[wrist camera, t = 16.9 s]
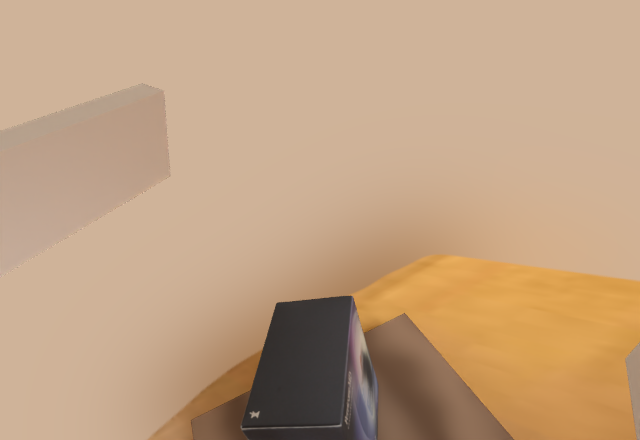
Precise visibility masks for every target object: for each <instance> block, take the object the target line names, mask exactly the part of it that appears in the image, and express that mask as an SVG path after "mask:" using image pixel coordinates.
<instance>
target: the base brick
mask: <svg viewBox="0 0 640 440" xmlns="http://www.w3.org/2000/svg"><path fill="white" fill-rule="evenodd" d="M364 337H365V341H366V344H367V348H368V351H369V354H370V358H371V361H372V365H373V368H374V371H375V374H376V378H377V381H378V437H377V440H514V439H513V438H512V437H511V436H510V434H509V433H508V432H507V431H506V430H505V429H504V428H503V426H502V425H501V424H500V423H499V422H498V421H497V419H496V418H495V417H494V416H493V415H492V414H491V412H490V411H489V410H488V409H487V408H486V407H485V406H484V404H483V403H482V402H481V401H480V400H479V399H478V397H477V396H476V395H475V394H474V393H473V392H472V390H471V389H470V388H469V387H468V386H467V385H466V383H465V382H464V381H463V380H462V379H461V378H460V377H459V375H458V374H457V373H456V372H455V371H454V370H453V368H452V367H451V366H450V365H449V364H448V363H447V361H446V360H445V359H444V358H443V357H442V356H441V354H440V353H439V352H438V351H437V350H436V349H435V348H434V346H433V345H432V344H431V343H430V342H429V341H428V339H427V338H426V337H425V336H424V335H423V334H422V332H421V331H420V330H419V329H418V328H417V327H416V325H415V324H414V323H413V322H412V321H411V320H410V319H409V317H408V316H407V315H406V314H405V313H404V314H402V315H400V316H398V317H396V318H394V319H392V320H390V321H388V322H386V323H384V324H382V325H380V326H378V327H376V328H374V329H372V330H370V331H368V332H366V333H364ZM250 392H251V390H250V391H248V392H246V393H244V394H242V395H240V396H238V397H236V398H234V399H232V400H230V401H228V402H226V403H224V404H222V405H220V406H218V407H216V408H214V409H212V410H210V411H208V412H206V413H204V414H202V415H200V416H198V417H196V418H194V419H192V420H191V424H192V432H193V439H194V440H247V438H246V436H245V435H244V433H243V431H242V429H241V428H240V426H241V423H242V420H243V416H244V413H245V409H246V406H247V402H248V399H249V395H250Z"/></svg>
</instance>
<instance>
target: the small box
mask: <svg viewBox="0 0 640 440" xmlns="http://www.w3.org/2000/svg"><path fill="white" fill-rule="evenodd" d="M240 428H241V429H242V431H243V433H244V435H245V436H246V438H247V440H377V437H378V381H377V378H376V374H375V371H374V368H373V365H372V361H371V358H370V354H369V351H368V348H367V344H366V341H365V337H364V333H363V330H362V327H361V323H360V320H359V316H358V313H357V309H356V306H355V302H354V298H353V296H340V297H330V298H321V299H311V300H302V301H292V302H279V303H277V304H276V307H275V310H274V313H273V317H272V320H271V324H270V327H269V330H268V334H267V338H266V340H265V344H264V347H263V351H262V354H261V358H260V361H259V365H258V368H257V371H256V375H255V378H254V382H253V385H252V389H251V392H250V395H249V399H248V402H247V406H246V409H245V413H244V416H243V420H242V423H241V426H240Z"/></svg>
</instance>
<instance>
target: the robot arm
mask: <svg viewBox="0 0 640 440" xmlns="http://www.w3.org/2000/svg"><path fill="white" fill-rule="evenodd" d="M165 112H166V111H165V98H164V91H163V90H160V89H157V88H154V87H151V86H148V85H145V84H139V85H136V86H133V87H130V88H128V89H124V90H121V91H118V92H115V93H112V94H110V95H106V96H104V97H100V98H97V99H95V100H92V101H89V102H86V103H83V104H80V105H76V106H73V107H71V108H68V109H65V110H62V111H59V112H56V113H53V114H50V115H47V116H44V117H41V118H38V119H35V120H32V121H29V122H26V123H23V124H20V125H17V126H14V127H11V128H8V129H5V130H2V131H0V277H2V276H3V275H5V274H7V273H8V272H10V271H12V270H13V269H15V268H17V267H18V266H20V265H22V264H24V263H25V262H27V261H29V260H30V259H32V258H34V257H35V256H37V255H39V254H40V253H42V252H44V251H45V250H47V249H49V248H51V247H52V246H54V245H55V244H57V243H59V242H61V241H62V240H64V239H66V238H67V237H69V236H71V235H72V234H74V233H76V232H77V231H79V230H81V229H82V228H84V227H86V226H87V225H89V224H91V223H92V222H94V221H96V220H98V219H99V218H101V217H103V216H104V215H106V214H107V213H109V212H111V211H113V210H114V209H116V208H118V207H119V206H121V205H123V204H124V203H126V202H128V201H130V200H131V199H133V198H135V197H136V196H138V195H140V194H141V193H143V192H145V191H146V190H148V189H149V188H151V187H153V186H155V185H156V184H158V183H160V182H161V181H163V180H165V179H167V178H168V177H170V166H169V153H168V140H167V126H166V113H165ZM625 360H626V367H627V374H628V381H629V388H630V395H631V402H632V409H633V415H634V422H635V429H636V436H637V440H640V342H639V344H638V345H637V346H636V347H635V348H634V349H633V350H632V352H631V353H630V354H629V355H628V356H627V357H626V359H625Z"/></svg>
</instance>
